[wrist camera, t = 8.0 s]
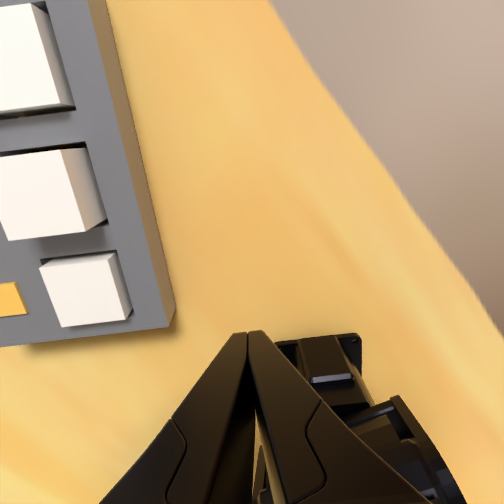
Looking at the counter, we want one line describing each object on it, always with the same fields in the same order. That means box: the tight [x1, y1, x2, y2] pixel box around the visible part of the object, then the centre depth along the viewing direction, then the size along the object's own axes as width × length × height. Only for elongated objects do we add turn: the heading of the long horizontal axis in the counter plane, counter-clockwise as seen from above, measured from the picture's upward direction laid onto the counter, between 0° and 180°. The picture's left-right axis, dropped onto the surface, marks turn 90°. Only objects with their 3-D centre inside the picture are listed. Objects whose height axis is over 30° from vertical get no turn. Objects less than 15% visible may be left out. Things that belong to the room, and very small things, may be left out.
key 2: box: [39, 250, 133, 327], centre depth 19 cm, size 4×4×3 cm
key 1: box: [0, 3, 76, 117], centre depth 15 cm, size 4×4×3 cm
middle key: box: [0, 148, 107, 241], centre depth 16 cm, size 4×4×3 cm
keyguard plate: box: [0, 0, 176, 347], centre depth 18 cm, size 18×11×3 cm, turn 7°
